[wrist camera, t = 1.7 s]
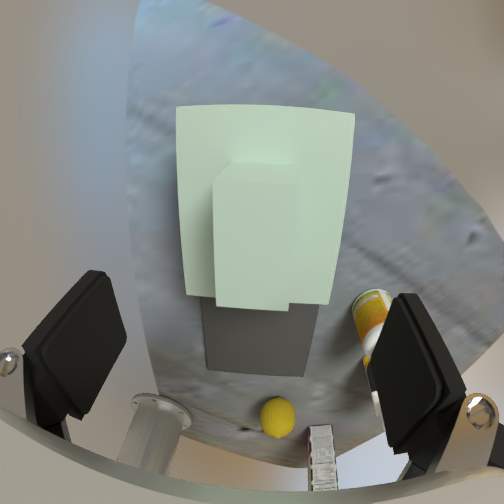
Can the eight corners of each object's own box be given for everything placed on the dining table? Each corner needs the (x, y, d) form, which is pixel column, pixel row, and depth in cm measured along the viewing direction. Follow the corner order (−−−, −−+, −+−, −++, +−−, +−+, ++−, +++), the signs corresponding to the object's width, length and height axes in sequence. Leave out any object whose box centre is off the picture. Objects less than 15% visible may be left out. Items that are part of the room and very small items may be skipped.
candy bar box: (328, 444, 51) (332, 508, 36) (306, 446, 52) (307, 510, 37) (333, 422, 46) (339, 497, 31) (308, 425, 47) (309, 500, 32)
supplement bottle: (344, 318, 34) (359, 377, 26) (361, 283, 32) (384, 340, 23) (380, 324, 34) (400, 379, 26) (398, 291, 32) (426, 345, 23)
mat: (303, 372, 39) (303, 376, 39) (209, 365, 40) (208, 369, 40) (324, 267, 31) (325, 271, 31) (199, 259, 32) (197, 263, 31)
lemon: (302, 396, 42) (303, 437, 35) (278, 409, 44) (277, 447, 37) (277, 383, 41) (276, 426, 34) (254, 397, 43) (250, 437, 36)
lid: (324, 289, 24) (339, 358, 17) (193, 280, 25) (163, 344, 18) (347, 114, 18) (389, 113, 11) (185, 107, 19) (134, 104, 11)
